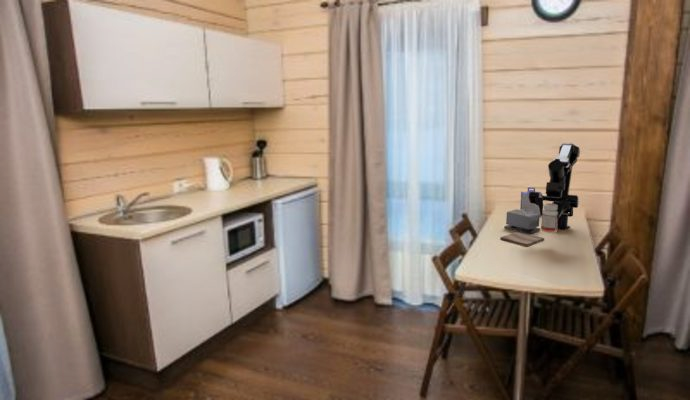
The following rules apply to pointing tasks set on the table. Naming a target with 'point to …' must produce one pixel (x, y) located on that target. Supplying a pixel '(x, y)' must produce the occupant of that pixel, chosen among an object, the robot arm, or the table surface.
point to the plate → (522, 238)
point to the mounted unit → (522, 221)
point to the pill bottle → (549, 218)
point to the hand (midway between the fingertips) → (549, 216)
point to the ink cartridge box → (528, 202)
